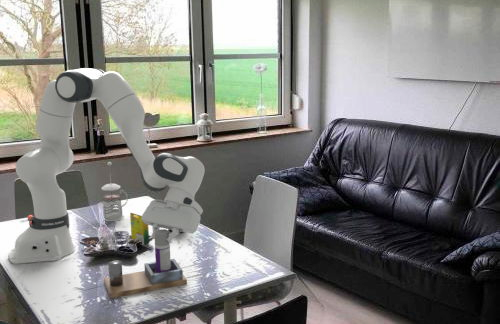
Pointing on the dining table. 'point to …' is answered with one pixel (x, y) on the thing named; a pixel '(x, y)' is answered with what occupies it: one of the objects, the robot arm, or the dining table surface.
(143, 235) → the crayon box
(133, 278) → the wooden board
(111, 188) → the french press
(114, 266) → the metal post
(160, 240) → the container
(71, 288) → the dining table surface
